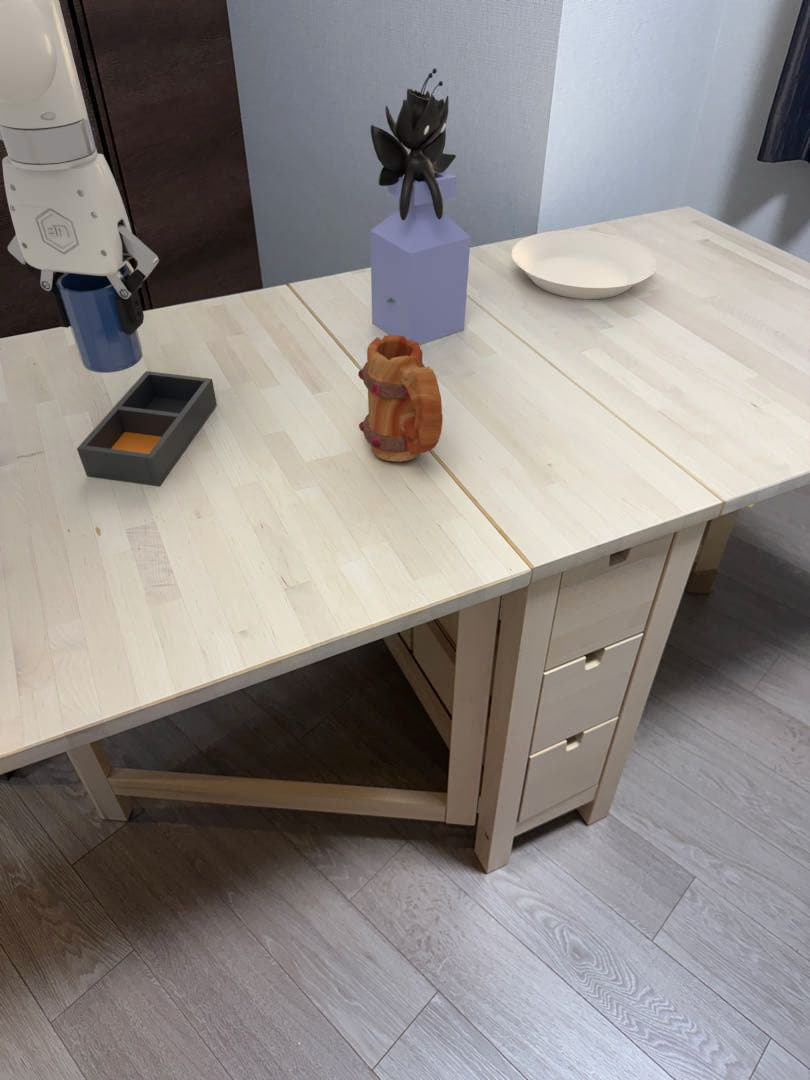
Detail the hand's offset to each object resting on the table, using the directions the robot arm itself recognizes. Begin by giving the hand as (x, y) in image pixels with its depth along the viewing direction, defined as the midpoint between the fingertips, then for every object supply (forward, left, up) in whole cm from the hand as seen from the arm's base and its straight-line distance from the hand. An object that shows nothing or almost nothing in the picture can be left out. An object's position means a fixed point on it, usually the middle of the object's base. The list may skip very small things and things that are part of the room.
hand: (102, 323), depth 79 cm
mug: (+31, +7, -18) cm, 37 cm away
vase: (+26, +42, -18) cm, 53 cm away
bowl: (+51, +67, -18) cm, 86 cm away
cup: (0, 0, -4) cm, 4 cm away
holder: (-1, +5, -18) cm, 19 cm away
